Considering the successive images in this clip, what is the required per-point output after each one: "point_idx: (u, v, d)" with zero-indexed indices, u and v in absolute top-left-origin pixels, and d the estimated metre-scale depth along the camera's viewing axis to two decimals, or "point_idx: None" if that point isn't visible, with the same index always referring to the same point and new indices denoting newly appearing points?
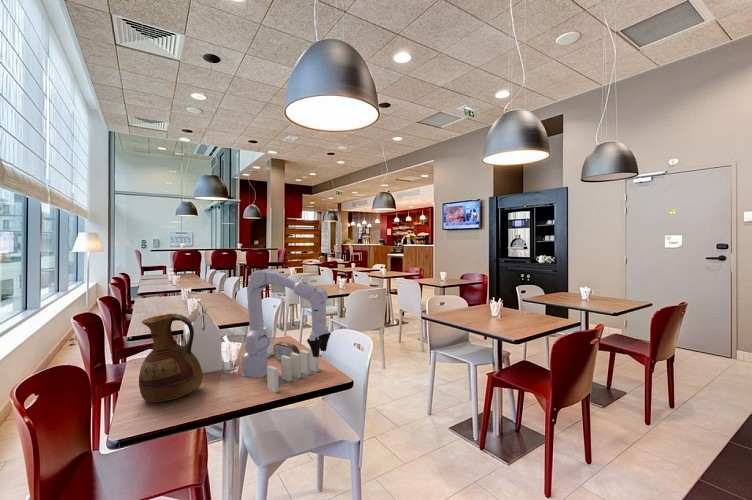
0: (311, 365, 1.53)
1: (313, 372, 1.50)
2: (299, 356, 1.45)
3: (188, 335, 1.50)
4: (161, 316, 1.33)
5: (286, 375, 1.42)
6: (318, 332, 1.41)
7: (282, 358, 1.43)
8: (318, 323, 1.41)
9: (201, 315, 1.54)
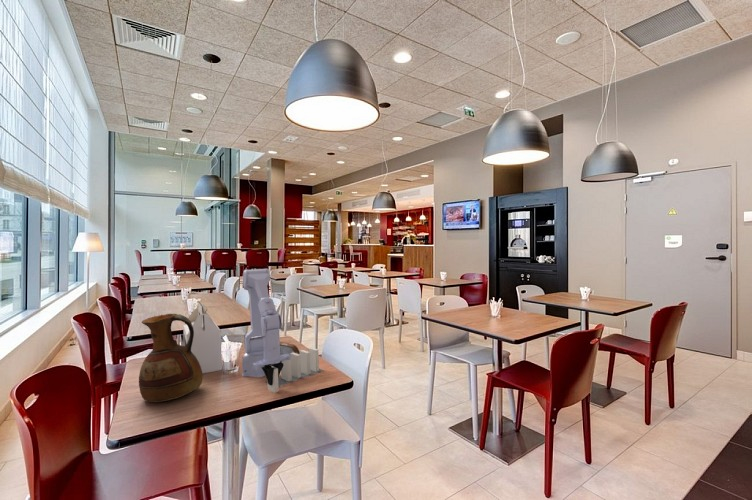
0: (311, 365, 1.53)
1: (313, 372, 1.50)
2: (299, 356, 1.45)
3: (188, 335, 1.50)
4: (161, 316, 1.33)
5: (286, 375, 1.42)
6: (266, 361, 1.30)
7: None
8: (266, 351, 1.30)
9: (201, 315, 1.54)
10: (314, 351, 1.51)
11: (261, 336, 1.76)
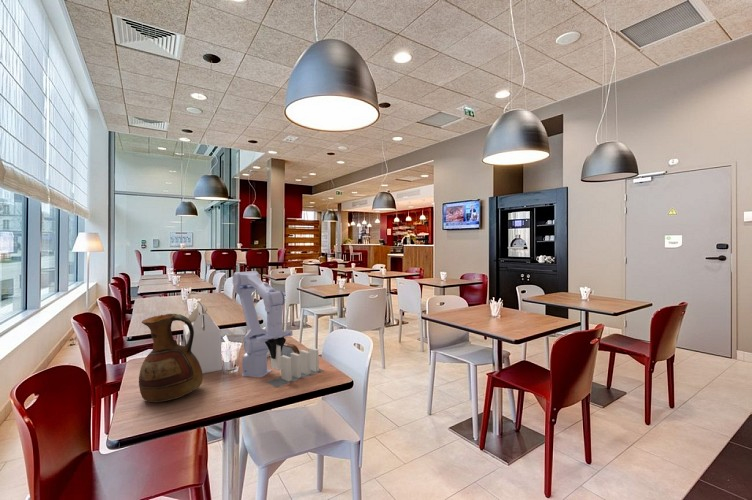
0: (311, 365, 1.53)
1: (313, 372, 1.50)
2: (299, 356, 1.45)
3: (188, 335, 1.50)
4: (161, 316, 1.33)
5: (286, 375, 1.42)
6: (269, 335, 1.37)
7: (282, 358, 1.43)
8: (269, 326, 1.37)
9: (201, 315, 1.54)
10: (314, 351, 1.51)
11: None
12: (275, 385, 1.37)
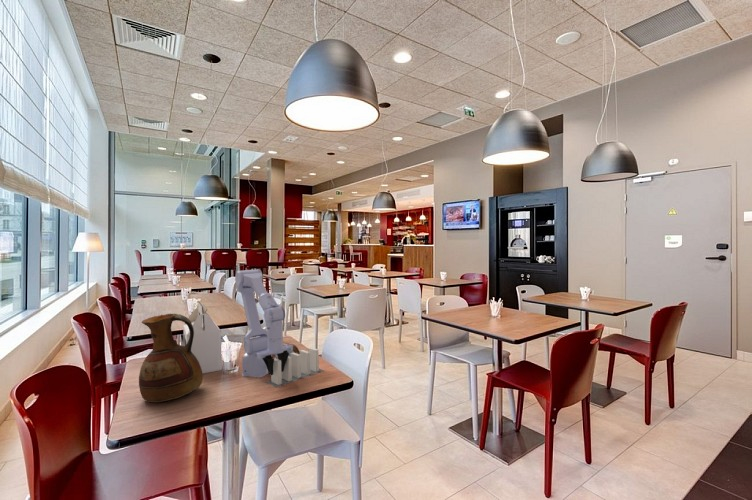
0: (311, 365, 1.53)
1: (313, 372, 1.50)
2: (299, 356, 1.45)
3: (188, 335, 1.50)
4: (161, 316, 1.33)
5: (286, 375, 1.42)
6: (270, 351, 1.37)
7: None
8: (270, 341, 1.37)
9: (201, 315, 1.54)
10: (314, 351, 1.51)
11: None
12: (275, 385, 1.37)
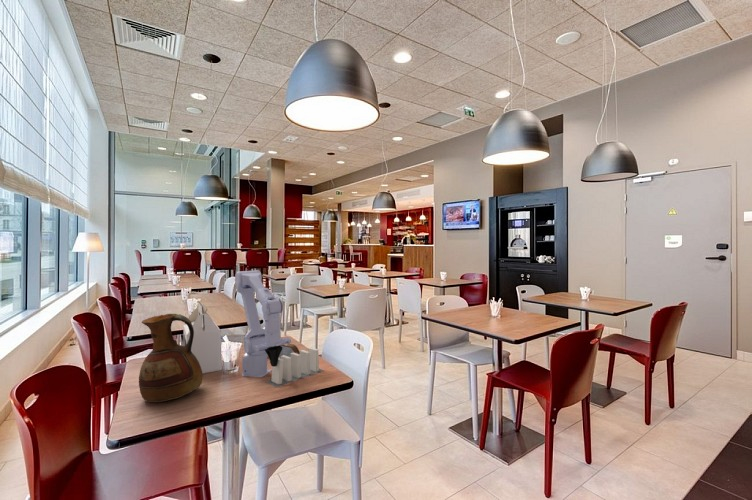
0: (311, 365, 1.53)
1: (313, 372, 1.50)
2: (299, 356, 1.45)
3: (188, 335, 1.50)
4: (161, 316, 1.33)
5: (286, 375, 1.42)
6: (267, 343, 1.36)
7: (282, 358, 1.43)
8: (267, 334, 1.36)
9: (201, 315, 1.54)
10: (314, 351, 1.51)
11: None
12: (275, 385, 1.37)
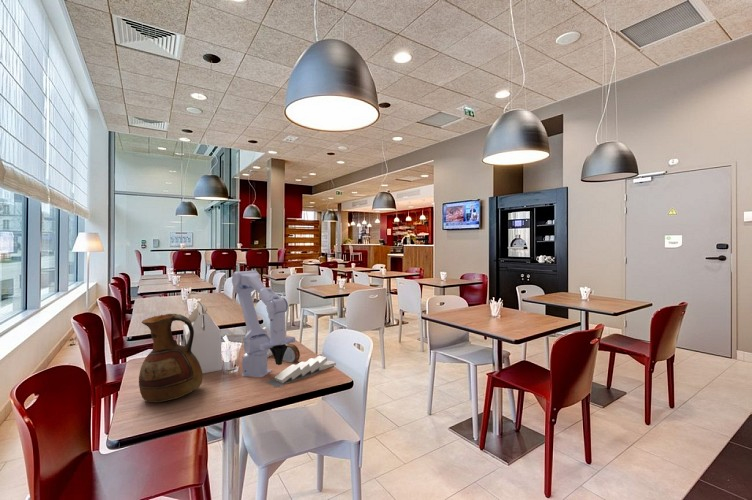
0: None
1: (313, 372, 1.50)
2: (318, 362, 1.52)
3: (188, 335, 1.50)
4: (161, 316, 1.33)
5: None
6: (272, 342, 1.38)
7: (302, 362, 1.50)
8: (272, 333, 1.38)
9: (201, 315, 1.54)
10: (333, 362, 1.59)
11: None
12: (275, 385, 1.37)
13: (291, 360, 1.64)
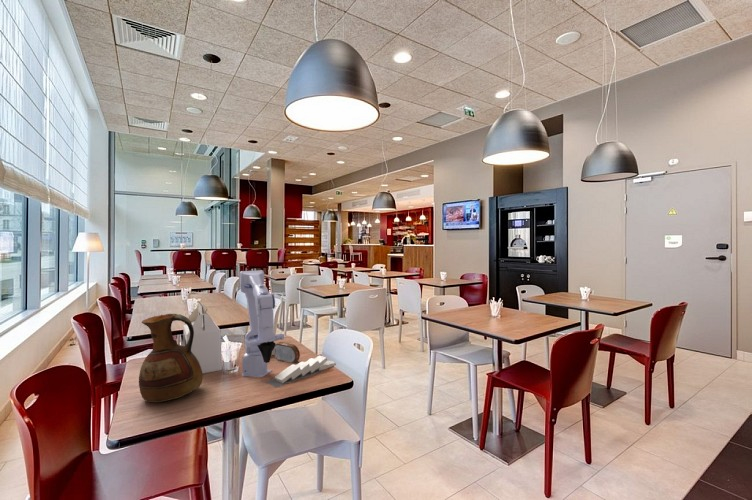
0: None
1: (313, 372, 1.50)
2: (318, 362, 1.52)
3: (188, 335, 1.50)
4: (161, 316, 1.33)
5: None
6: (260, 339, 1.34)
7: (302, 362, 1.50)
8: (260, 330, 1.34)
9: (201, 315, 1.54)
10: (333, 362, 1.59)
11: None
12: (275, 385, 1.37)
13: (291, 360, 1.64)
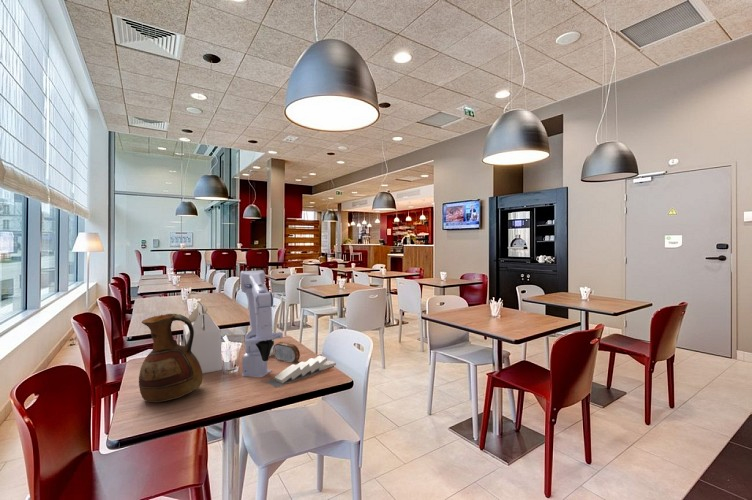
0: None
1: (313, 372, 1.50)
2: (318, 362, 1.52)
3: (188, 335, 1.50)
4: (161, 316, 1.33)
5: None
6: (258, 337, 1.34)
7: (302, 362, 1.50)
8: (258, 328, 1.34)
9: (201, 315, 1.54)
10: (333, 362, 1.59)
11: None
12: (275, 385, 1.37)
13: (291, 360, 1.64)
